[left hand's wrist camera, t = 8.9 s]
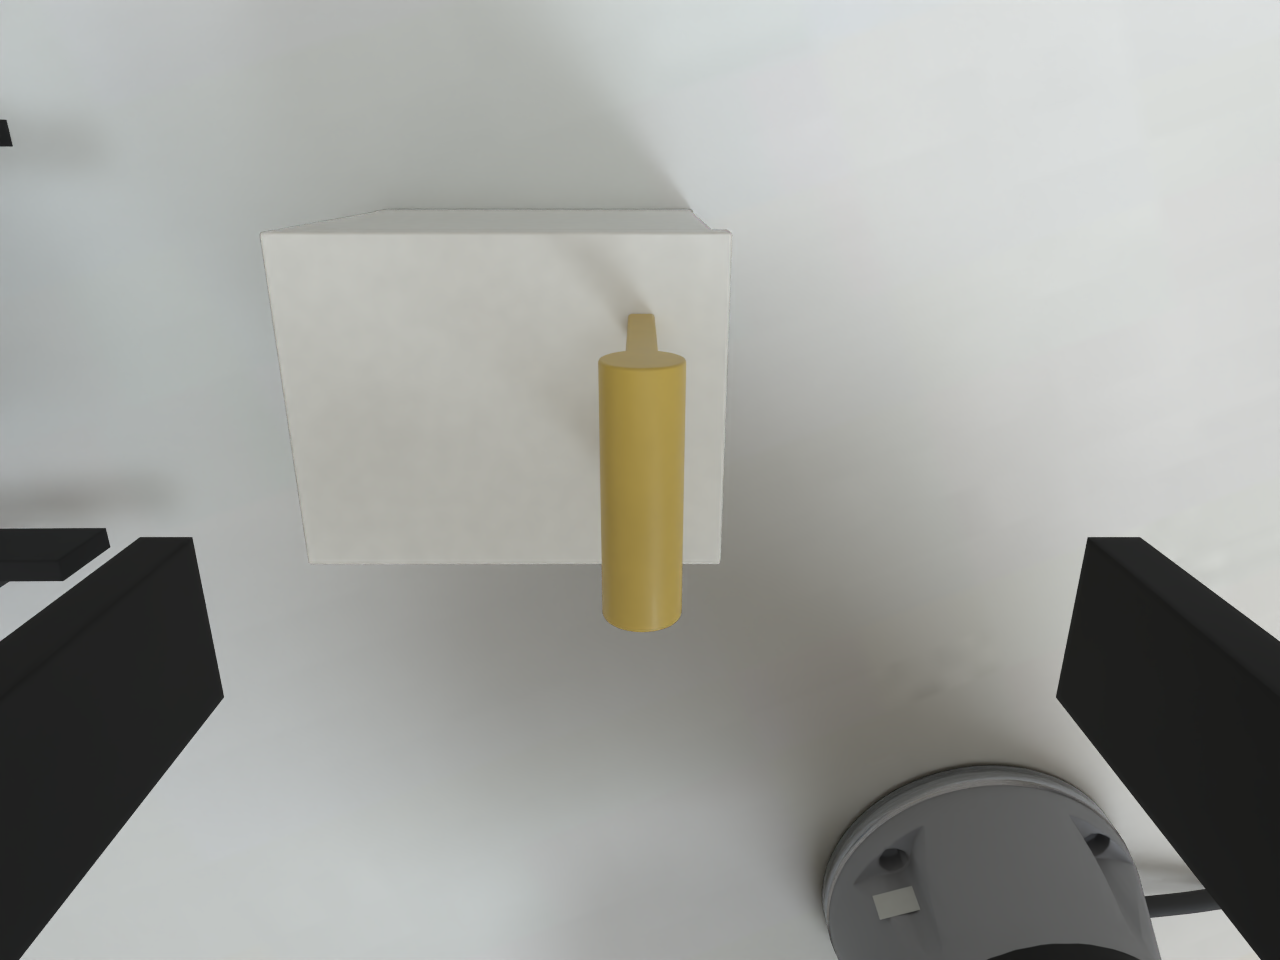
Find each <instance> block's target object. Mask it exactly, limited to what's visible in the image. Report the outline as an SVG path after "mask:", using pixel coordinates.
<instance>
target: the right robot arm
mask: <svg viewBox="0 0 1280 960" xmlns="http://www.w3.org/2000/svg"><path fill="white" fill-rule="evenodd" d="M0 146H13V145H12V141H11V137H10V133H9V129H8V125H7V121H6V120H0ZM108 548H110V544H109V540H108V536H107V532H106V528H53V529H0V587H2V586H3V585H5V584H6V583H8V582H9V581H64V580H65V579H67V578H68V577H70V576H71V575H72V574H74V573H75V572H76V571H78V570H79V569H81V568H82V567H83V566H85V565H86V564H88V563H89V562H90V561H92V560H93V559H94V558H96V557H97V556H99V555H100V554H101V553H103V552H104V551H106V550H107V549H108Z"/></svg>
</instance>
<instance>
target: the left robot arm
mask: <svg viewBox="0 0 1280 960" xmlns="http://www.w3.org/2000/svg"><path fill="white" fill-rule="evenodd" d="M223 698H224V695H223V690H222V685H221V680H220V675H219V669H218V664H217V659H216V654H215V649H214V644H213V639H212V634H211V629H210V624H209V619H208V614H207V609H206V604H205V599H204V594H203V589H202V584H201V579H200V574H199V569H198V564H197V559H196V554H195V549H194V544H193V539H192V537H140V538H138V539H137V540H136V541H134V542H133V543H132V544H130V545H129V546H128V547H126V548H125V549H124V550H122V551H121V552H120V553H118V554H117V555H116V556H114V557H113V558H112V559H110V560H109V561H108V562H106V563H105V564H104V565H102V566H101V567H99V568H98V569H97V570H95V571H94V572H93V573H91V574H90V575H89V576H87V577H86V578H85V579H83V580H82V581H81V582H79V583H78V584H77V585H75V586H74V587H73V588H71V589H70V590H69V591H67V592H66V593H65V594H63V595H62V596H61V597H59V598H58V599H57V600H55V601H54V602H53V603H51V604H50V605H49V606H47V607H46V608H45V609H43V610H42V611H40V612H39V613H38V614H36V615H35V616H34V617H32V618H31V619H30V620H28V621H27V622H26V623H24V624H23V625H22V626H20V627H19V628H18V629H16V630H15V631H14V632H12V633H11V634H10V635H8V636H7V637H6V638H4V639H3V640H2V641H0V960H19V959H20V958H21V957H22V955H23V954H24V953H25V951H26V950H27V949H28V948H29V946H30V945H31V944H32V942H33V941H34V940H35V939H36V937H37V936H38V935H39V933H40V932H41V931H42V930H43V928H44V927H45V926H46V924H47V923H48V922H49V921H50V919H51V918H52V917H53V916H54V914H55V913H56V912H57V910H58V909H59V908H60V907H61V905H62V904H63V903H64V901H65V900H66V899H67V898H68V896H69V895H70V894H71V892H72V891H73V890H74V889H75V887H76V886H77V885H78V884H79V882H80V881H81V880H82V878H83V877H84V876H85V875H86V873H87V872H88V871H89V869H90V868H91V867H92V866H93V864H94V863H95V862H96V860H97V859H98V858H99V857H100V855H101V854H102V853H103V851H104V850H105V849H106V848H107V846H108V845H109V844H110V843H111V841H112V840H113V839H114V837H115V836H116V835H117V834H118V832H119V831H120V830H121V828H122V827H123V826H124V825H125V823H126V822H127V821H128V819H129V818H130V817H131V816H132V814H133V813H134V812H135V811H136V809H137V808H138V807H139V805H140V804H141V803H142V802H143V800H144V799H145V798H146V796H147V795H148V794H149V793H150V791H151V790H152V789H153V787H154V786H155V785H156V784H157V782H158V781H159V780H160V778H161V777H162V776H163V775H164V773H165V772H166V771H167V770H168V768H169V767H170V766H171V764H172V763H173V762H174V761H175V759H176V758H177V757H178V755H179V754H180V753H181V752H182V750H183V749H184V748H185V746H186V745H187V744H188V743H189V741H190V740H191V739H192V738H193V736H194V735H195V734H196V732H197V731H198V730H199V729H200V727H201V726H202V725H203V723H204V722H205V721H206V720H207V718H208V717H209V716H210V714H211V713H212V712H213V711H214V709H215V708H216V707H217V706H218V704H219V703H220V702H221V700H222V699H223ZM1056 698H1057V699H1058V700H1059V702H1060V703H1061V704H1062V706H1063V707H1064V708H1065V709H1066V711H1067V712H1068V713H1069V714H1070V716H1071V717H1072V718H1073V720H1074V721H1075V722H1076V723H1077V725H1078V726H1079V727H1080V729H1081V730H1082V731H1083V732H1084V734H1085V735H1086V736H1087V738H1088V739H1089V740H1090V741H1091V743H1092V744H1093V745H1094V746H1095V748H1096V749H1097V750H1098V752H1099V753H1100V754H1101V755H1102V757H1103V758H1104V759H1105V761H1106V762H1107V763H1108V764H1109V766H1110V767H1111V768H1112V770H1113V771H1114V772H1115V773H1116V775H1117V776H1118V777H1119V779H1120V780H1121V781H1122V782H1123V784H1124V785H1125V786H1126V787H1127V789H1128V790H1129V791H1130V793H1131V794H1132V795H1133V796H1134V798H1135V799H1136V800H1137V802H1138V803H1139V804H1140V805H1141V807H1142V808H1143V809H1144V811H1145V812H1146V813H1147V814H1148V816H1149V817H1150V818H1151V819H1152V821H1153V822H1154V823H1155V825H1156V826H1157V827H1158V828H1159V830H1160V831H1161V832H1162V834H1163V835H1164V836H1165V837H1166V839H1167V840H1168V841H1169V843H1170V844H1171V845H1172V846H1173V848H1174V849H1175V850H1176V852H1177V853H1178V854H1179V855H1180V857H1181V858H1182V859H1183V860H1184V862H1185V863H1186V864H1187V866H1188V867H1189V868H1190V869H1191V871H1192V872H1193V873H1194V875H1195V876H1196V877H1197V878H1198V880H1199V881H1200V882H1201V884H1202V885H1203V886H1204V887H1205V889H1203V890H1196V891H1189V892H1181V893H1172V894H1163V895H1153V896H1144V892H1143V889H1142V885H1141V881H1140V877H1139V874H1138V871H1137V868H1136V866H1135V864H1134V862H1133V859H1132V857H1131V855H1130V853H1129V851H1128V849H1127V847H1126V845H1125V843H1124V841H1123V839H1122V838H1121V836H1120V835H1119V834H1118V832H1117V831H1116V829H1115V828H1114V826H1113V825H1112V824H1111V822H1110V821H1109V819H1108V818H1107V817H1106V815H1105V814H1104V812H1103V811H1102V810H1101V809H1100V808H1099V807H1098V806H1097V804H1096V803H1095V802H1094V801H1092V800H1091V799H1090V798H1089V797H1088V796H1087V795H1086V794H1084V793H1083V792H1081V791H1080V790H1078V789H1077V788H1076V787H1074V786H1072V785H1070V784H1068V783H1067V782H1065V781H1063V780H1060V779H1058V778H1056V777H1053V776H1051V775H1048V774H1045V773H1041V772H1038V771H1034V770H1030V769H1025V768H1019V767H1011V766H994V765H990V766H972V767H964V768H958V769H953V770H948V771H943V772H940V773H936V774H933V775H929V776H927V777H924V778H921V779H918V780H916V781H914V782H911V783H909V784H907V785H905V786H903V787H901V788H899V789H897V790H895V791H893V792H892V793H890V794H888V795H887V796H885V797H884V798H882V799H881V800H879V801H878V802H876V803H875V804H874V805H872V806H871V807H870V808H869V809H867V810H866V811H865V812H864V813H863V814H862V815H861V816H860V817H859V818H858V819H857V820H856V821H855V822H854V823H853V824H852V825H851V826H850V827H849V829H848V830H847V831H846V832H845V834H844V835H843V837H842V838H841V839H840V841H839V842H838V844H837V846H836V848H835V849H834V851H833V853H832V855H831V858H830V860H829V862H828V865H827V868H826V872H825V875H824V881H823V889H822V902H823V910H824V915H825V919H826V923H827V927H828V931H829V935H830V940H831V943H832V945H833V948H834V951H835V953H836V955H837V957H838V959H839V960H1161V957H1160V953H1159V949H1158V945H1157V942H1156V938H1155V934H1154V930H1153V926H1152V923H1151V919H1150V918H1153V917H1163V916H1172V915H1182V914H1191V913H1198V912H1205V911H1212V910H1218V909H1222V910H1223V912H1224V913H1225V914H1226V916H1227V917H1228V918H1229V919H1230V921H1231V922H1232V923H1233V925H1234V926H1235V927H1236V928H1237V930H1238V931H1239V932H1240V933H1241V935H1242V936H1243V937H1244V939H1245V940H1246V941H1247V942H1248V944H1249V945H1250V946H1251V948H1252V949H1253V950H1254V951H1255V953H1256V954H1257V955H1258V957H1259V958H1260V959H1261V960H1280V641H1278V640H1277V639H1276V638H1274V637H1273V636H1272V635H1270V634H1269V633H1268V632H1266V631H1265V630H1264V629H1262V628H1261V627H1260V626H1258V625H1257V624H1256V623H1254V622H1253V621H1252V620H1250V619H1249V618H1248V617H1246V616H1245V615H1244V614H1242V613H1241V612H1240V611H1238V610H1237V609H1235V608H1234V607H1233V606H1231V605H1230V604H1229V603H1227V602H1226V601H1225V600H1223V599H1222V598H1221V597H1219V596H1218V595H1217V594H1215V593H1214V592H1213V591H1211V590H1210V589H1209V588H1207V587H1206V586H1205V585H1203V584H1202V583H1201V582H1199V581H1198V580H1197V579H1195V578H1194V577H1193V576H1191V575H1190V574H1189V573H1187V572H1186V571H1185V570H1183V569H1182V568H1181V567H1179V566H1178V565H1176V564H1175V563H1174V562H1172V561H1171V560H1170V559H1168V558H1167V557H1166V556H1164V555H1163V554H1162V553H1160V552H1159V551H1158V550H1156V549H1155V548H1154V547H1152V546H1151V545H1150V544H1148V543H1147V542H1146V541H1144V540H1143V539H1142V538H1140V537H1088V539H1087V544H1086V549H1085V554H1084V559H1083V564H1082V569H1081V574H1080V579H1079V584H1078V589H1077V594H1076V599H1075V604H1074V609H1073V614H1072V619H1071V624H1070V629H1069V634H1068V639H1067V644H1066V649H1065V654H1064V659H1063V664H1062V669H1061V674H1060V680H1059V685H1058V690H1057V695H1056Z"/></svg>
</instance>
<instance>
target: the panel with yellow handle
mask: <svg viewBox="0 0 1280 960" xmlns="http://www.w3.org/2000/svg"><path fill="white" fill-rule="evenodd" d="M260 239H261V246H262V253H263V260H264V266H265V273H266V280H267V286H268V293H269V300H270V307H271V313H272V320H273V327H274V333H275V340H276V347H277V354H278V360H279V367H280V374H281V380H282V387H283V394H284V401H285V407H286V414H287V421H288V428H289V434H290V441H291V448H292V454H293V461H294V468H295V475H296V481H297V488H298V495H299V501H300V508H301V515H302V522H303V528H304V535H305V542H306V548H307V555H308V562H309V564H602V613H603V616H604V618H605V619H606V620H607V622H609V623H610V624H611V625H613V626H615V627H617V628H620V629H623V630H627V631H634V632H651V631H657V630H661V629H664V628H667V627H669V626H671V625H673V624H674V623H675V622H677V620H678V619H679V618H680V616H681V613H682V564H719V563H720V561H721V533H722V505H723V478H724V450H725V422H726V395H727V367H728V339H729V312H730V284H731V256H732V233H731V232H730V231H728V230H270V231H265V232H261V233H260Z"/></svg>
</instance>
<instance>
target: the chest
mask: <svg viewBox="0 0 1280 960" xmlns="http://www.w3.org/2000/svg"><path fill="white" fill-rule="evenodd" d="M278 230H712V229H710V228H709V227H708V226H707V225H706V224H705V223H704V222H703V221H702V220H700V219H699V218H698V217H697V216H696V215H695V214H694V213H693V211H692V210H378V211H375V212H371V213H365V214H360V215H354V216H349V217H343V218H337V219H332V220H326V221H321V222H315V223H310V224H304V225H298V226H293V227H287V228H282V229H278Z"/></svg>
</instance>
